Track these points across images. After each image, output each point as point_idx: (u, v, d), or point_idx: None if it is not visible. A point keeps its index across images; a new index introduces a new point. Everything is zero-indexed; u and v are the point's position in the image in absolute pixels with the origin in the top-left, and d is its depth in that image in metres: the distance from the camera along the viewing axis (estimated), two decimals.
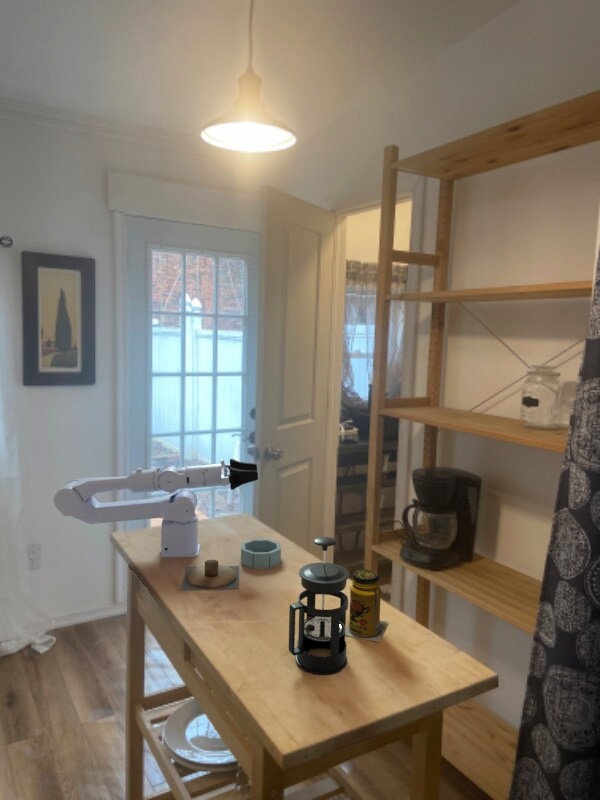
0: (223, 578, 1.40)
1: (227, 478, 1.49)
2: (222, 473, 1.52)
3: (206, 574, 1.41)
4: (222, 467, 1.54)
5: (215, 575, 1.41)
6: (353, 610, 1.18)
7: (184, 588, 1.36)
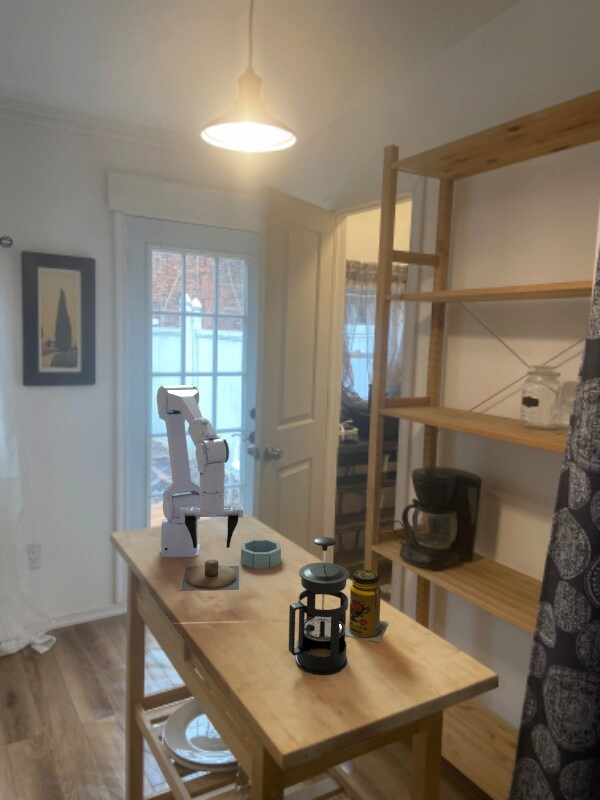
0: (223, 578, 1.40)
1: (180, 516, 1.39)
2: (190, 512, 1.38)
3: (206, 574, 1.41)
4: (201, 513, 1.37)
5: (215, 575, 1.41)
6: (353, 610, 1.18)
7: (184, 588, 1.36)
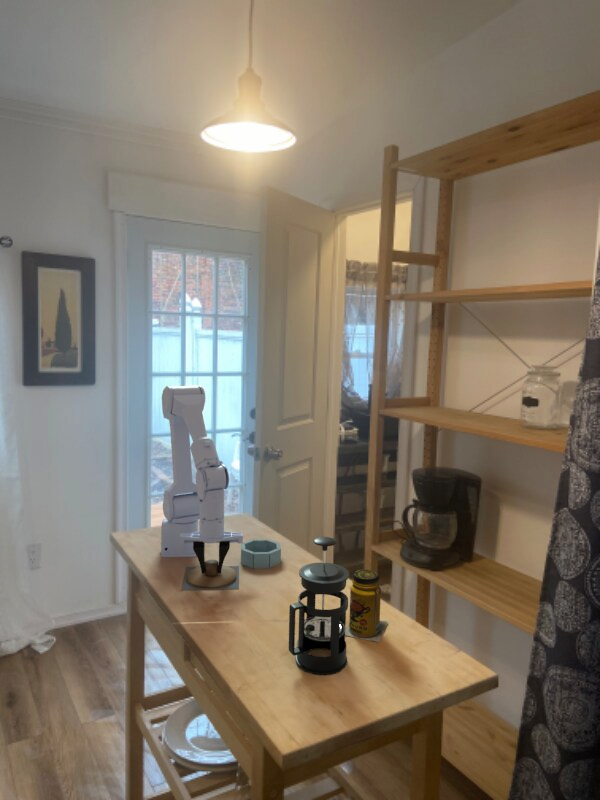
0: (223, 578, 1.40)
1: (180, 542, 1.39)
2: (190, 538, 1.39)
3: (206, 574, 1.41)
4: (201, 539, 1.38)
5: (215, 575, 1.41)
6: (353, 610, 1.18)
7: (184, 588, 1.36)
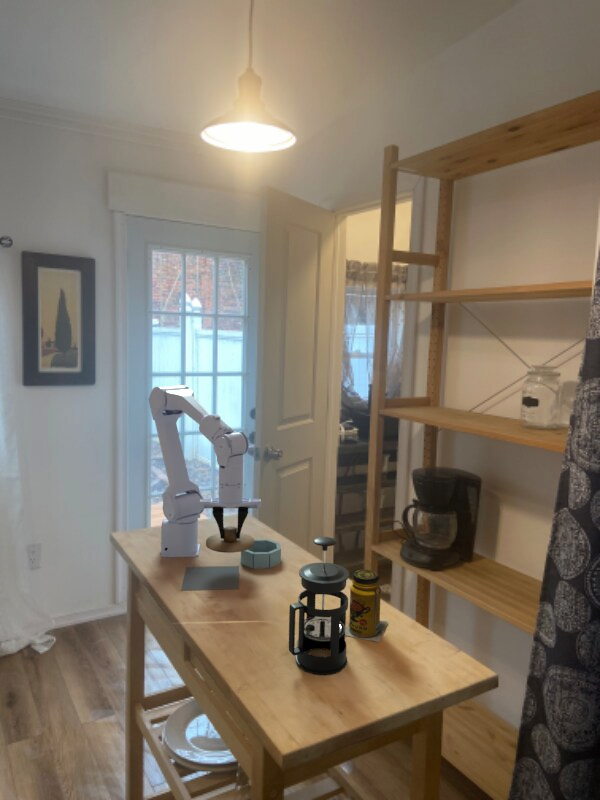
0: (241, 544, 1.43)
1: (200, 507, 1.43)
2: (210, 503, 1.42)
3: (225, 540, 1.44)
4: (220, 504, 1.41)
5: (234, 541, 1.44)
6: (353, 610, 1.18)
7: (184, 588, 1.36)
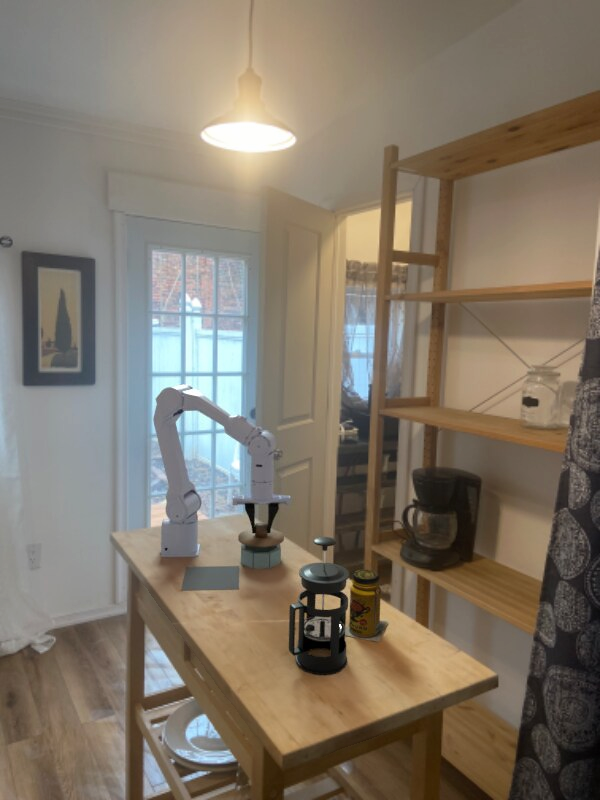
0: (272, 539, 1.50)
1: None
2: (242, 499, 1.49)
3: (256, 535, 1.51)
4: (253, 500, 1.48)
5: (265, 536, 1.51)
6: (353, 610, 1.18)
7: (184, 588, 1.36)
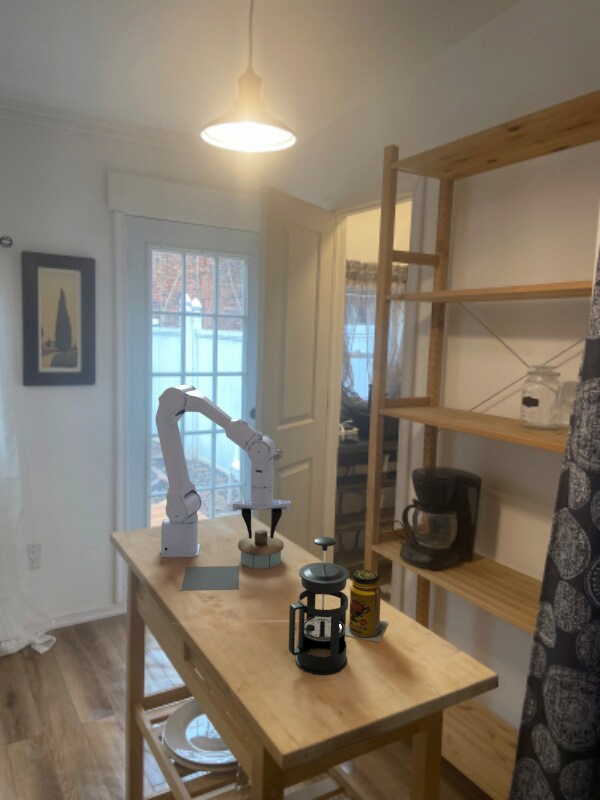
0: (272, 547, 1.50)
1: None
2: (242, 505, 1.49)
3: (256, 543, 1.51)
4: (253, 506, 1.49)
5: (264, 544, 1.51)
6: (353, 610, 1.18)
7: (184, 588, 1.36)
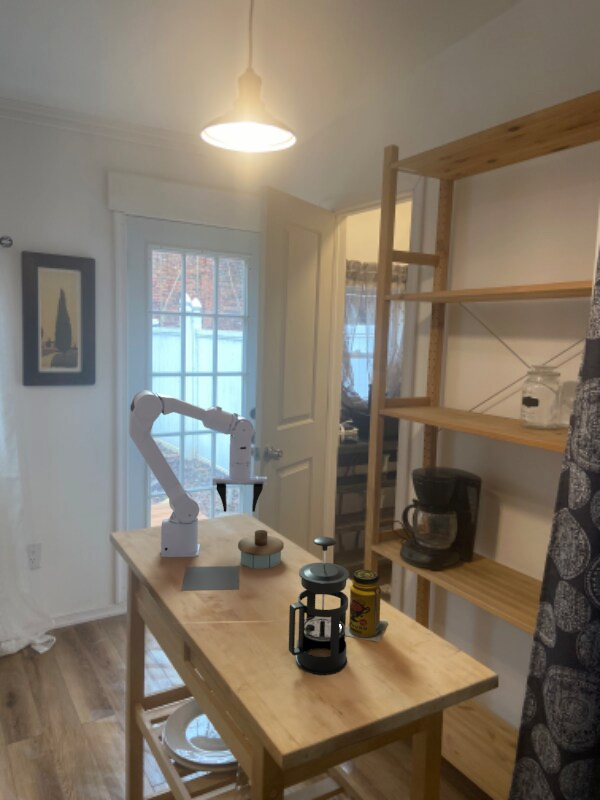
0: (272, 547, 1.50)
1: None
2: (221, 480, 1.59)
3: (256, 543, 1.51)
4: (231, 481, 1.58)
5: (264, 544, 1.51)
6: (353, 610, 1.18)
7: (184, 588, 1.36)
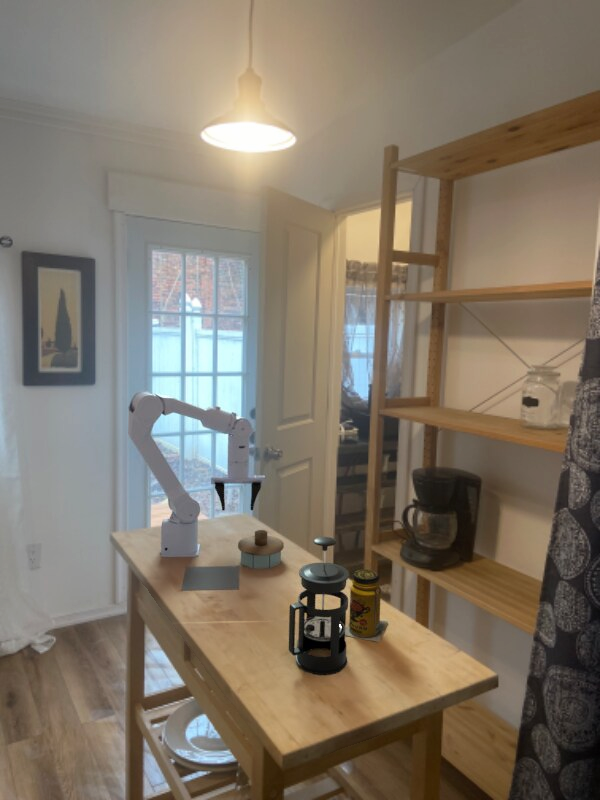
0: (272, 547, 1.50)
1: (211, 482, 1.61)
2: (220, 479, 1.60)
3: (256, 543, 1.51)
4: (229, 479, 1.59)
5: (264, 544, 1.51)
6: (353, 610, 1.18)
7: (184, 588, 1.36)
